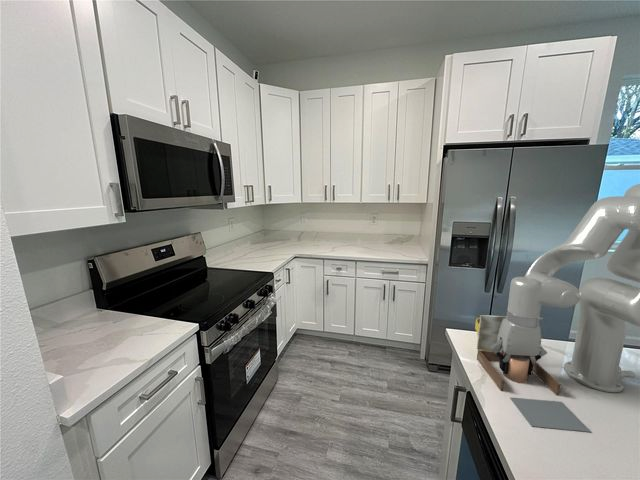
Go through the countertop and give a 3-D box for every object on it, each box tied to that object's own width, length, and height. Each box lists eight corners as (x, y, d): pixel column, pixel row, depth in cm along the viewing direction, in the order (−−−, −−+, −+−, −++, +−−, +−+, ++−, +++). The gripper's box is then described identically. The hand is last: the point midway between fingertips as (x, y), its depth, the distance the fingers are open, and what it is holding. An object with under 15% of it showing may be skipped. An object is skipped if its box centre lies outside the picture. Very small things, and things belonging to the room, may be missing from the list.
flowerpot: (518, 370, 82) (521, 350, 81) (531, 383, 76) (534, 362, 75) (498, 368, 83) (501, 349, 82) (509, 382, 77) (512, 361, 76)
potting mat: (561, 402, 69) (561, 401, 69) (591, 432, 61) (591, 431, 61) (509, 397, 71) (509, 397, 71) (531, 426, 62) (531, 425, 62)
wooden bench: (523, 360, 87) (529, 317, 84) (558, 395, 72) (567, 344, 69) (475, 357, 89) (480, 315, 86) (500, 390, 74) (506, 340, 71)
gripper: (544, 314, 79) (537, 366, 82) (484, 311, 81) (479, 362, 84) (564, 326, 71) (555, 382, 75) (497, 323, 74) (491, 378, 77)
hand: (515, 371), depth 79 cm, fingers closed on flowerpot, 6 cm apart
